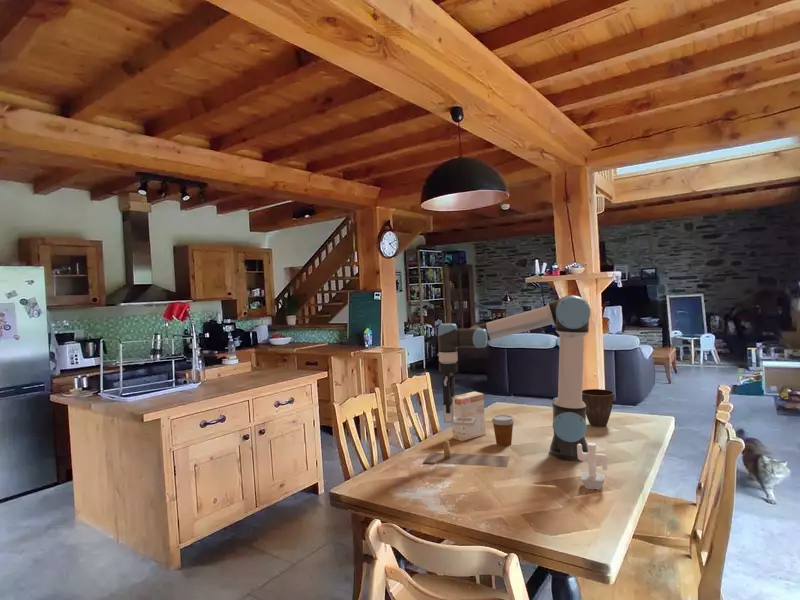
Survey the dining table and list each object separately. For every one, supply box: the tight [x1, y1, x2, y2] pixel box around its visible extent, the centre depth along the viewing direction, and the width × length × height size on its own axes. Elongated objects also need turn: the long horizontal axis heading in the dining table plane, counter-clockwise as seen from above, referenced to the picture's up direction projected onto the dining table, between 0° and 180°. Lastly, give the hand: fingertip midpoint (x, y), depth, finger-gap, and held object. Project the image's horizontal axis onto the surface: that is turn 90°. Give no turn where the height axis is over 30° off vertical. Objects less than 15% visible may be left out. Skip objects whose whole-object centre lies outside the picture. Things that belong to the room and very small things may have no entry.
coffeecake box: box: [451, 391, 486, 442], centre depth 233 cm, size 15×7×20 cm, turn 123°
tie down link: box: [443, 397, 476, 426], centre depth 201 cm, size 12×8×10 cm
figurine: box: [577, 441, 609, 491], centre depth 170 cm, size 7×9×15 cm
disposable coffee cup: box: [491, 414, 515, 447], centre depth 218 cm, size 10×10×12 cm
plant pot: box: [582, 388, 615, 428], centre depth 240 cm, size 15×15×16 cm
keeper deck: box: [422, 439, 510, 468], centre depth 201 cm, size 33×12×8 cm, turn 72°
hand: (449, 419), depth 203 cm, fingers closed on tie down link, 3 cm apart
